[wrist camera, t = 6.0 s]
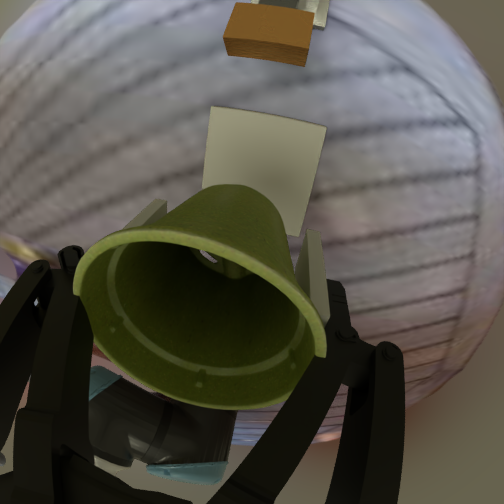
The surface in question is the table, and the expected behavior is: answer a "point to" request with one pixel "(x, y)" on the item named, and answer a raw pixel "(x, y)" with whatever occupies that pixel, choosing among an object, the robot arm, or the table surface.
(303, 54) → the press lever
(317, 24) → the lever stand
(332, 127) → the table surface
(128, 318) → the plant pot
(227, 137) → the plate
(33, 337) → the robot arm
